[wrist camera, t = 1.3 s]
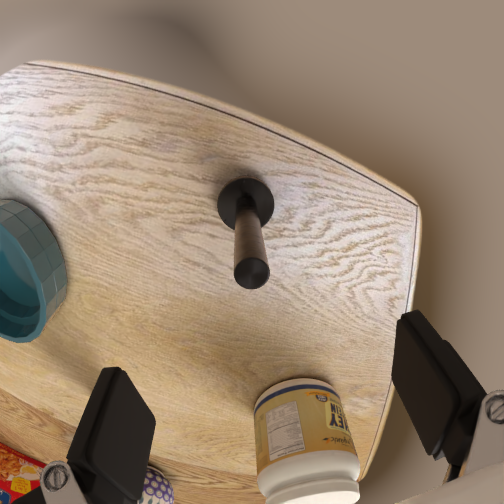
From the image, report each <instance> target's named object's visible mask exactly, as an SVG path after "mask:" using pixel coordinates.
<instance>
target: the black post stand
mask: <svg viewBox="0 0 504 504" xmlns="http://www.w3.org/2000/svg"><path fill="white" fill-rule="evenodd" d="M217 206H218V212H219V215H220V217H221V219H222V221H223V222H224V223H225V224H226V225H227V226H228V227H230V228H231V229H233V230H235V244H234V278H235V280H236V282H237V283H238V284H239V285H240V286H242V287H243V288H246V289H257V288H260V287H262V286H263V285H264V284H265V283H266V282H267V281H268V279H269V276H270V270H269V265H268V260H267V255H266V250H265V245H264V240H263V235H262V230H261V228H262V227H263V226H264V225H265V224H266V223H267V222H268V221H269V220H270V218H271V216H272V214H273V211H274V198H273V195H272V193H271V191H270V189H269V187H268V186H267V185H266V184H265V183H264V182H263V181H262V180H260V179H258V178H256V177H253V176H239V177H236V178H233V179H231V180H230V181H228V182H227V183H226V184H225V185H224V187H223V188H222V190H221V192H220V194H219V198H218V204H217Z"/></svg>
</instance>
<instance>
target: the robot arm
mask: <svg viewBox="0 0 504 504" xmlns="http://www.w3.org/2000/svg"><path fill="white" fill-rule="evenodd" d="M391 376H392V381H393V384H394V386H395V388H396V390H397V392H398V394H399V396H400V398H401V400H402V402H403V404H404V406H405V408H406V410H407V412H408V414H409V416H410V418H411V420H412V423H413V425H414V427H415V429H416V431H417V433H418V435H419V437H420V440H421V442H422V444H423V446H424V448H425V451H426V453H427V454H428V455H433V457H434V459H435V461H436V460H438V459H440V458H442V457H446V459H447V461H448V463H449V467H448V469H447V472H446V475H445V478H444V480H443V483H442V485H441V486H438V487H436V488H434V489H431V490H429V491H427V492H424V493H422V494H419V495H417V496H414V497H411V498H409V499H406V500H403V501H400V502H398V503H395V504H504V390H496V391H493V392H491V393H489V394H488V395H487V393H486V392H485V390H484V389H483V387H482V386H481V385H480V383H479V382H478V380H477V379H476V378H475V376H474V375H473V374H472V372H471V371H470V370H469V368H468V367H467V365H466V364H465V363H464V361H463V360H462V359H461V357H460V356H459V355H458V353H457V352H456V351H455V350H454V348H453V347H452V346H451V344H450V343H449V342H447V341H446V340H442V338H441V337H440V335H439V334H438V333H437V332H436V330H435V329H434V328H433V327H432V326H431V324H430V323H429V322H428V320H427V319H426V318H425V317H424V315H423V314H422V313H421V312H420V311H419V310H414V311H411V312H407V313H404V314H402V316H401V319H399V320H398V321H397V326H396V338H395V348H394V357H393V366H392V374H391ZM155 425H156V421H155V417H154V415H153V414H152V412H151V411H150V409H149V408H148V406H147V405H146V403H145V402H144V400H143V399H142V397H141V396H140V394H139V392H138V391H137V389H136V388H135V386H134V385H133V383H132V381H131V380H130V378H129V376H128V375H127V373H126V372H125V371H124V370H121V368H119V367H107V368H103V369H102V371H101V373H100V375H99V378H98V380H97V382H96V384H95V387H94V389H93V391H92V394H91V396H90V398H89V401H88V403H87V406H86V408H85V410H84V413H83V415H82V418H81V420H80V423H79V425H78V428H77V430H76V433H75V435H74V438H73V441H72V443H71V446H70V449H69V451H68V454H67V457H66V458H67V459H68V461H67V463H65V462H63V461H53V462H50V463H49V464H48V465H46V466H45V467H44V469H43V470H42V472H41V474H40V486H38V487H37V488H35V489H33V490H31V491H30V492H28V493H26V494H25V495H23V496H21V497H19V498H17V499H16V500H14V501H13V502H12V503H11V504H137V503H138V500H140V499H141V498H142V493H143V488H144V482H145V476H146V471H147V466H148V460H149V455H150V450H151V445H152V440H153V435H154V430H155Z"/></svg>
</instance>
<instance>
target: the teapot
mask: <svg viewBox="0 0 504 504" xmlns="http://www.w3.org/2000/svg"><path fill="white" fill-rule="evenodd" d="M173 502H174V492H173V488H172V485H171V484H170V482H169V481H168V480H167V479H166V478H165V477H164V474H163V473H162V472H161V471H159V470H158V469H156V468H154V467H151V466H147V471H146V476H145V482H144V488H143V493H142V498H141V499H140V500H138V503H137V504H173Z"/></svg>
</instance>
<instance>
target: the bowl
mask: <svg viewBox="0 0 504 504" xmlns="http://www.w3.org/2000/svg"><path fill="white" fill-rule="evenodd" d="M66 288H67V275H66V269H65V262H64V259H63V256H62V254H61V252H60V249H59V246H58V244H57V241H56V239H55V238H54V236H53V235H52V233H51V232H50V230H49V229H48V227H47V226H46V224H45V223H44V221H43V220H42V219H41V218H40V217H39V216H37V215H36V214H35V213H34V212H33V211H32V210H31V209H30V208H29V207H27V206H25V205H23V204H20V203H18V202H16V201H14V200H0V337H2V338H4V339H6V340H9V341H13V342H16V343H25V342H31V341H33V340H34V339H36V338H37V337H39V336H40V335H41V333H42V332H43V331H44V329H45V328H46V327H47V325H48V324H49V322H50V321H51V320H52V318H53V317H54V316H55V315H56V313H57V312H58V311H59V309H60V307H61V305H62V303H63V301H64V300H65V297H66Z"/></svg>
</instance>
